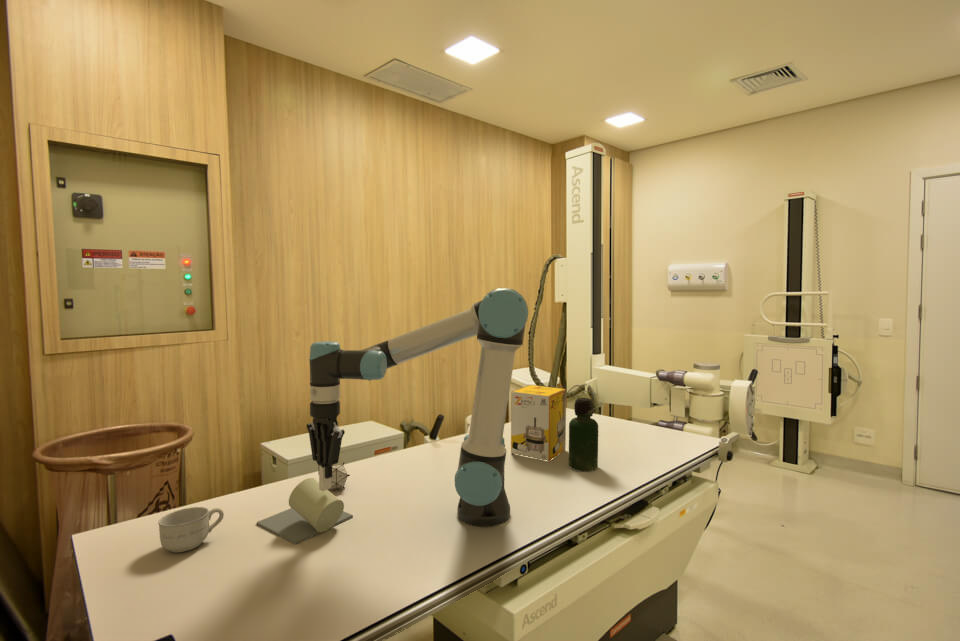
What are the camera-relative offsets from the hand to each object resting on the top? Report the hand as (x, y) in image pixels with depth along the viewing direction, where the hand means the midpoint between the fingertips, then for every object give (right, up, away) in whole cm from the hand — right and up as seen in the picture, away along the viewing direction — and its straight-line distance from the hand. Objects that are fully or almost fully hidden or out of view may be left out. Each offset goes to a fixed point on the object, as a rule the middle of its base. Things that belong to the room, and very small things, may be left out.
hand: (325, 488), depth 126 cm
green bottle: (+79, -9, +48) cm, 93 cm away
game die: (-6, -10, +28) cm, 30 cm away
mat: (-8, -11, +6) cm, 15 cm away
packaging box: (+64, -8, +64) cm, 91 cm away
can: (+2, -7, -1) cm, 7 cm away
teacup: (-31, -12, -7) cm, 34 cm away
